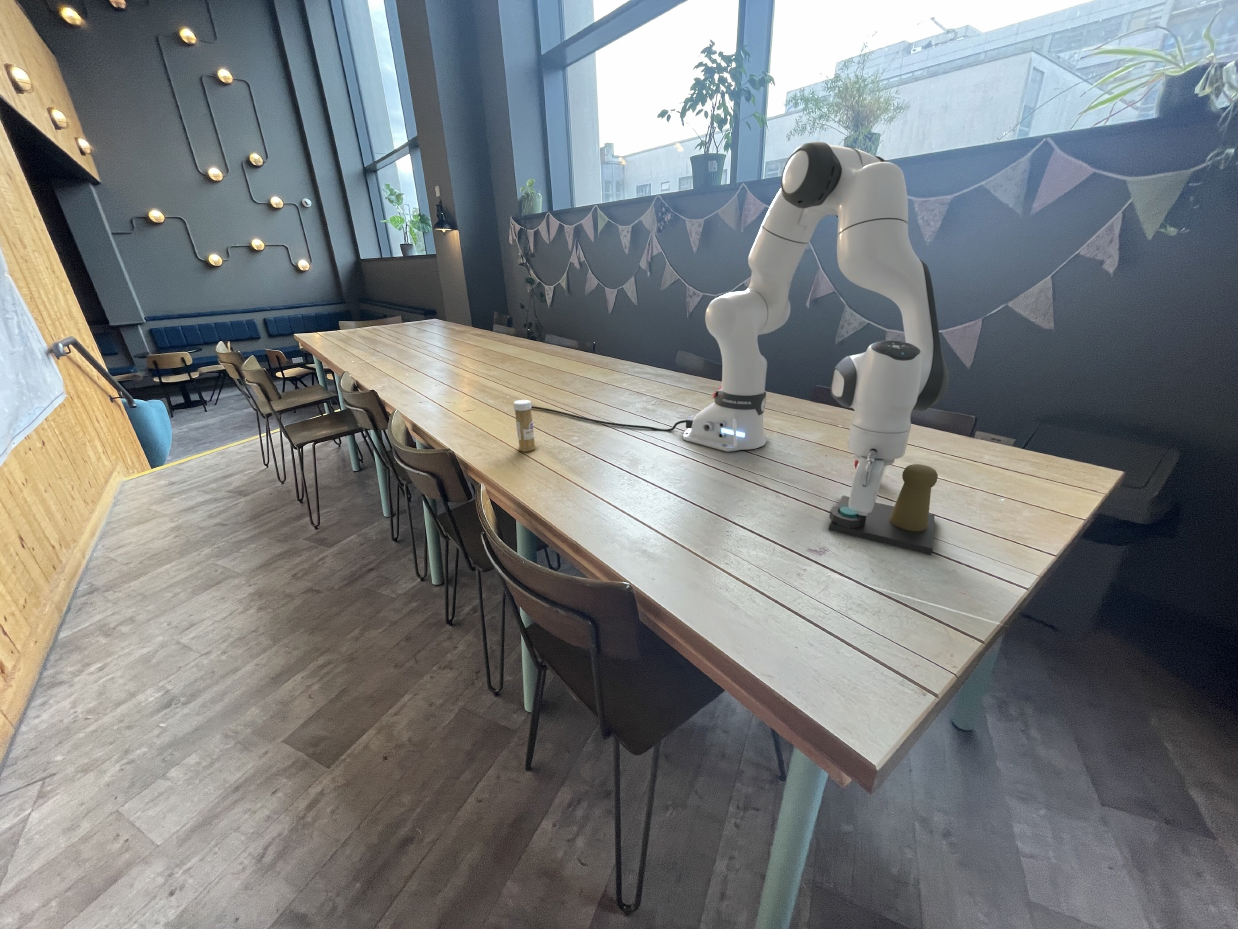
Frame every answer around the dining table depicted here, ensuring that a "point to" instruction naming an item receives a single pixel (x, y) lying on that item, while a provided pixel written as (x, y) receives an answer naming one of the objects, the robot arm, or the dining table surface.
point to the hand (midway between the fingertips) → (862, 512)
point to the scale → (882, 528)
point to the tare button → (848, 512)
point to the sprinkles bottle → (524, 425)
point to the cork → (914, 498)
